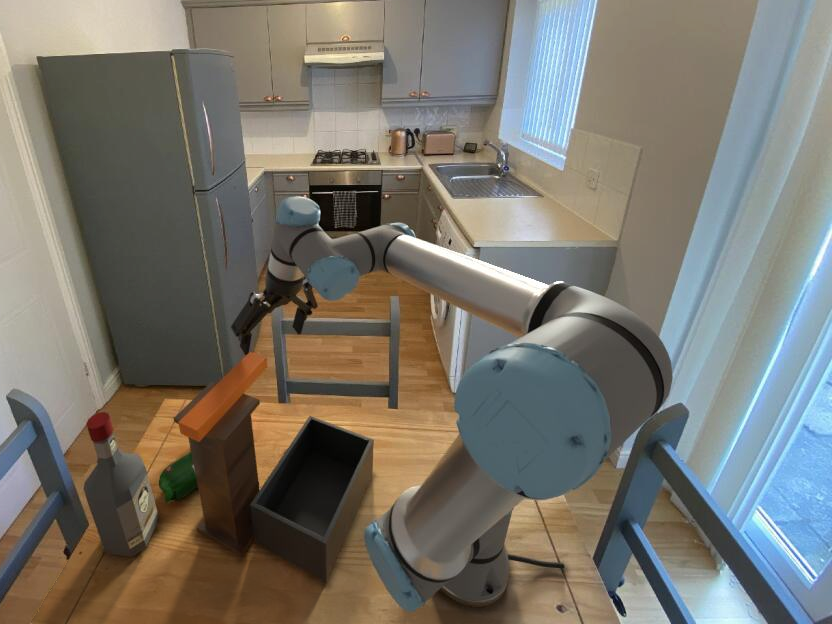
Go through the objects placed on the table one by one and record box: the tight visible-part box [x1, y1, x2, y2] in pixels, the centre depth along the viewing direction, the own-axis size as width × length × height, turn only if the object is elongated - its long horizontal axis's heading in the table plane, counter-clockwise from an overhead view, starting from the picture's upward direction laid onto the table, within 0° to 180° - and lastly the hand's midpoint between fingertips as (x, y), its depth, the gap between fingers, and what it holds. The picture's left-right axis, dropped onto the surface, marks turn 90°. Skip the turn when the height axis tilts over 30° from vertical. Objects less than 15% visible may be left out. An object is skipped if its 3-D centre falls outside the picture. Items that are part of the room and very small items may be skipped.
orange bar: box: [178, 351, 268, 442], centre depth 76 cm, size 4×20×2 cm, turn 153°
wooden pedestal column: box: [173, 381, 261, 558], centre depth 80 cm, size 11×10×30 cm
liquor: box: [83, 411, 160, 558], centre depth 78 cm, size 9×9×30 cm
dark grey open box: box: [250, 415, 375, 583], centre depth 86 cm, size 16×24×11 cm, turn 153°
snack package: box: [158, 451, 198, 504], centre depth 94 cm, size 7×16×5 cm, turn 131°
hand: (271, 339), depth 94 cm, fingers open, 13 cm apart
